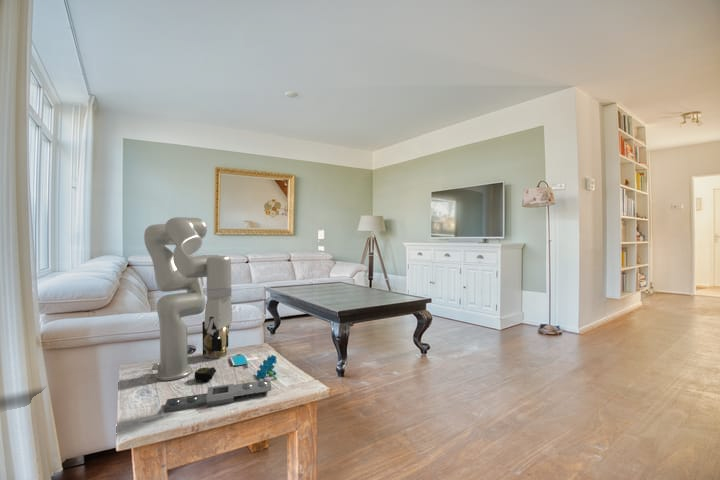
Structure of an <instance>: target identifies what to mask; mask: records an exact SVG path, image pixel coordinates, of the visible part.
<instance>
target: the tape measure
mask: <svg viewBox="0 0 720 480" xmlns="http://www.w3.org/2000/svg"><path fill="white" fill-rule="evenodd" d="M216 373H217V369H216V368H215V367H201V368H200V367H199V368H197V369H196V370H195V372H194V380H195V381H197V382H206V381H211V380H212V379H213V377H214V376H215V374H216Z"/></svg>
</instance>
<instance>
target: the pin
mask: <svg viewBox="0 0 720 480" xmlns="http://www.w3.org/2000/svg"><path fill="white" fill-rule="evenodd" d="M214 329H216V327H214ZM214 332H216V333H218V331H214ZM220 339H222V351H215V357H222V358H224V357H226V356H227V355H226V327H224V328H222V329H221V338H220ZM223 356H224V357H223Z"/></svg>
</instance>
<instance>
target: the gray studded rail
mask: <svg viewBox="0 0 720 480" xmlns="http://www.w3.org/2000/svg"><path fill="white" fill-rule="evenodd" d="M270 380H271V379H263V380H262V379H261V380H257V381H250V382H244V383H235V384H234V383H230V384H223V385H216V386H215V385H214V386H210V387H209V386H208V387H207V393H199V394H192V395H187V396H186V395H185V396H180V397H179V396H178V397H173V398H167V399H166V402H165V405H164V407H163V413H169V412H176V411H181V410H182V411H183V410H187V409H189V410H190V409H194V408H199V407H207V408H208V407H214V406H215V407H216V406H220V405H226V404H232V403H233V404H234V403H235V402H234V400H235V399H234V398H235V397H238V396H239V397H240V396H242V397H243V398H249V397H252V396H253V394H258V395H260V396H261V395H266V394H268V392H270V391H272V383H271V381H270Z"/></svg>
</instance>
